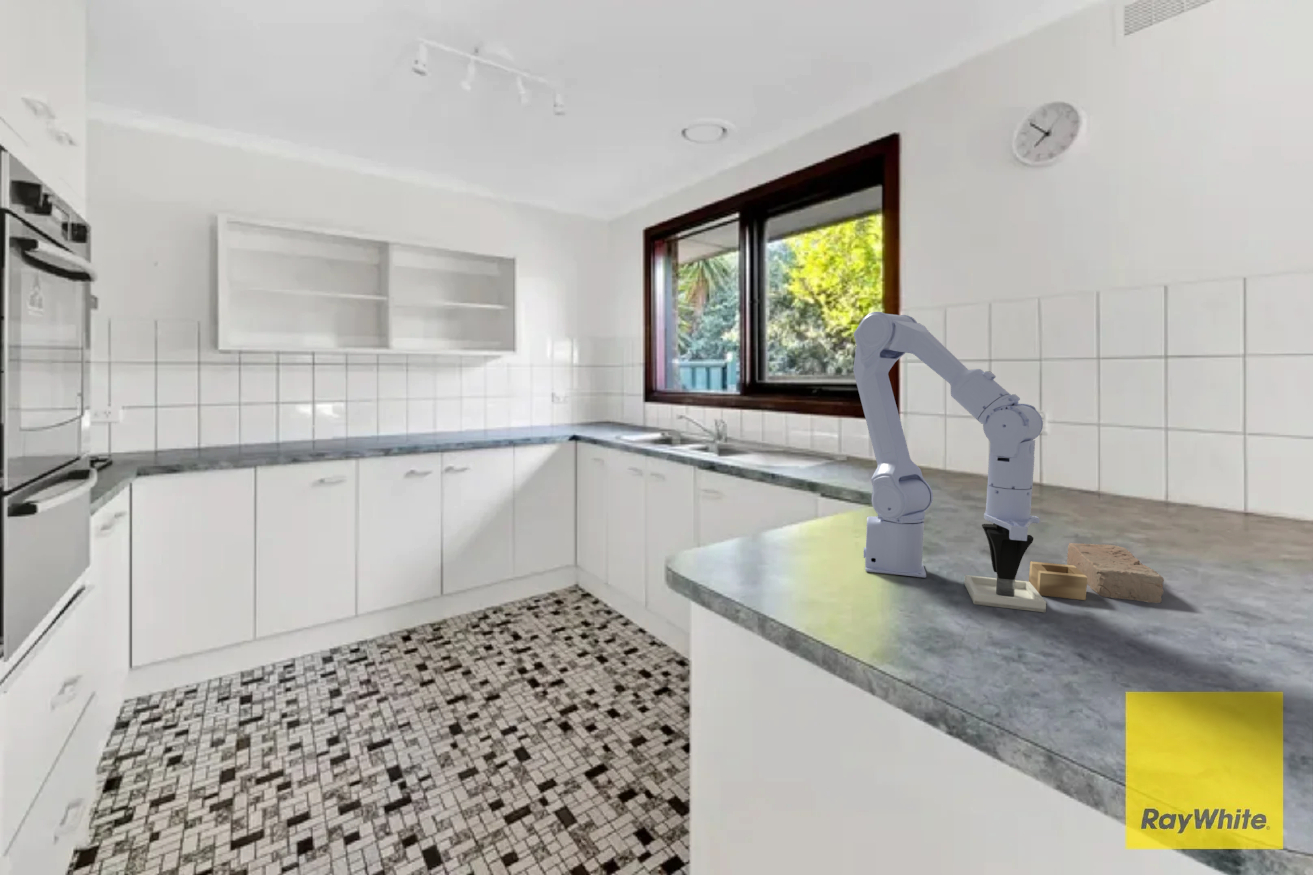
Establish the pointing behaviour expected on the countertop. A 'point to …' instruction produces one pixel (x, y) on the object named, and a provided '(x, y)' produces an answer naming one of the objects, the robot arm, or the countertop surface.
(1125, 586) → the brick
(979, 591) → the tray
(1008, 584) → the cylinder
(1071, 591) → the wooden square frame
